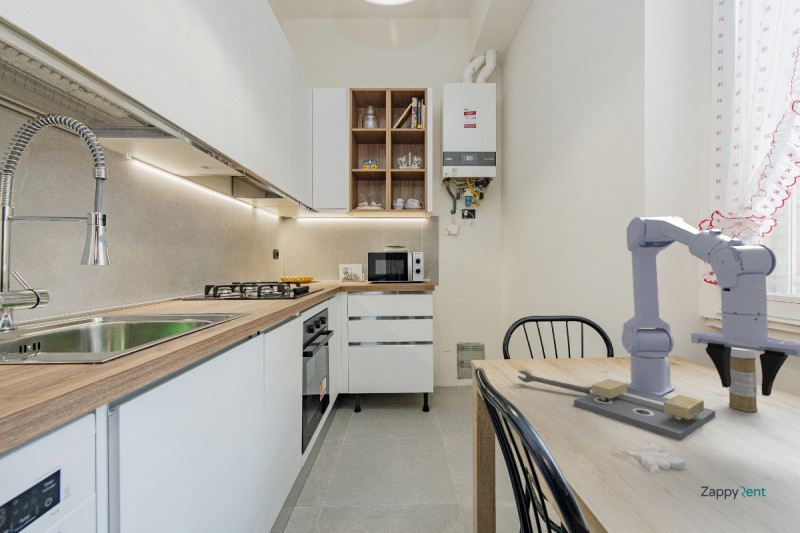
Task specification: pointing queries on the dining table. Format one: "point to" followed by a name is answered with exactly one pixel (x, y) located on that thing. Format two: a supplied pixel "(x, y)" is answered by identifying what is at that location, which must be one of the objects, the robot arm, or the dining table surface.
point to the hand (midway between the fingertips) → (745, 390)
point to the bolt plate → (639, 409)
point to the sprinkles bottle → (743, 380)
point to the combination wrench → (553, 383)
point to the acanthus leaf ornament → (656, 458)
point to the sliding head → (683, 407)
